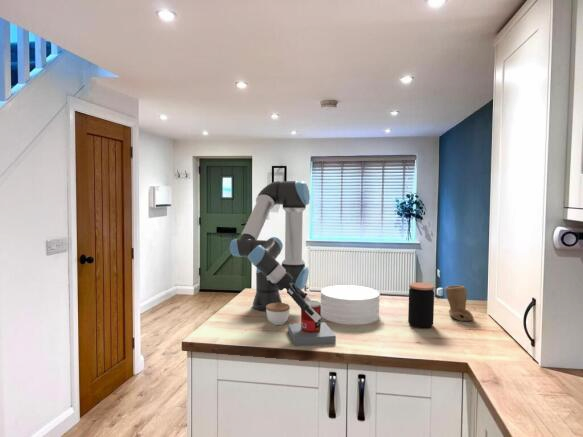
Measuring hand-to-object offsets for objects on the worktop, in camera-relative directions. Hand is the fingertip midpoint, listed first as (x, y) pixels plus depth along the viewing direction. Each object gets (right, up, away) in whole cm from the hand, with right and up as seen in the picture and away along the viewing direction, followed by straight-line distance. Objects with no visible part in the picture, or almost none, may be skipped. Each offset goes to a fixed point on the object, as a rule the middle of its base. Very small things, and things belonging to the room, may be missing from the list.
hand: (316, 314), depth 149 cm
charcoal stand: (-2, -9, 0) cm, 10 cm away
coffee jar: (+48, -9, +16) cm, 51 cm away
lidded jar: (-17, -9, +17) cm, 25 cm away
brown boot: (+70, -9, +28) cm, 76 cm away
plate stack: (+18, -8, +30) cm, 36 cm away
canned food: (-3, -7, 0) cm, 7 cm away
